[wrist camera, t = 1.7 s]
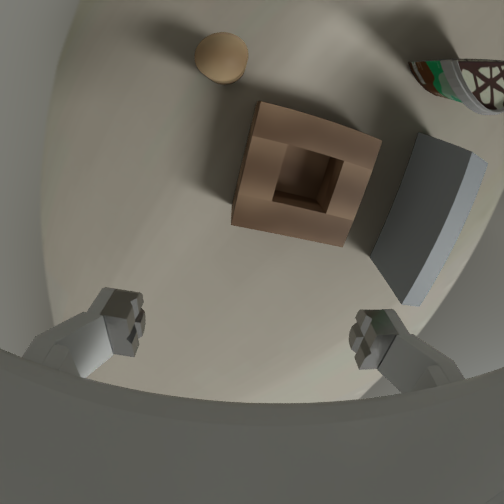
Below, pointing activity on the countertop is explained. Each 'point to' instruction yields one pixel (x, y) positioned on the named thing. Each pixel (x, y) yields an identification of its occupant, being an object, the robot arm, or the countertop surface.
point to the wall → (427, 216)
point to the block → (302, 175)
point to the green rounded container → (464, 82)
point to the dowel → (222, 57)
